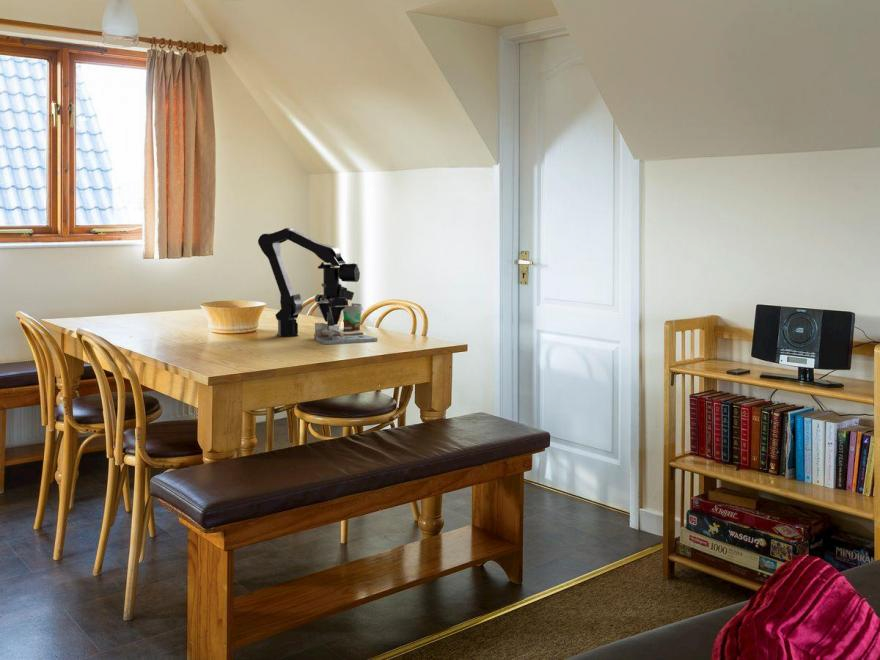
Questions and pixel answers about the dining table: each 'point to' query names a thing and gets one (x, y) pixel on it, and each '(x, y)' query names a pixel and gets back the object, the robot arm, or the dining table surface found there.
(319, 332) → the divider rail
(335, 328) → the divider leg
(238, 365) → the dining table surface
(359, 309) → the food container
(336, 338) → the hole plate
